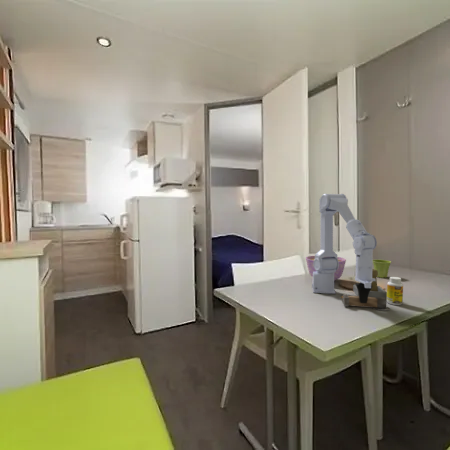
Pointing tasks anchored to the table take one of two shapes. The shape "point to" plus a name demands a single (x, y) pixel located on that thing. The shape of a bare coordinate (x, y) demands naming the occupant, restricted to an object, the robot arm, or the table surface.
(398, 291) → the supplement bottle
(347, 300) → the crank
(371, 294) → the tray
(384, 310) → the crank base
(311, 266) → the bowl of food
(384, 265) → the plant pot
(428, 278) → the table surface
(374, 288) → the olive rounded piece
